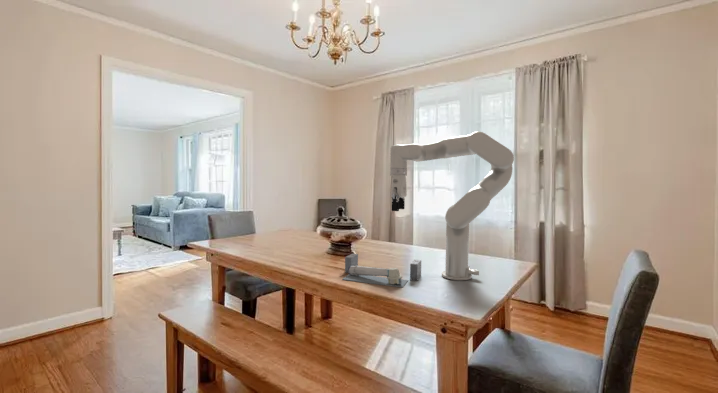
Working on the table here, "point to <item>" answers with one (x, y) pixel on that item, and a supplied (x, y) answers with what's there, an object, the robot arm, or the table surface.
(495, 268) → the table surface
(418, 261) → the steel holder
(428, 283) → the table surface
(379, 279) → the rubber mat
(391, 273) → the mallet
